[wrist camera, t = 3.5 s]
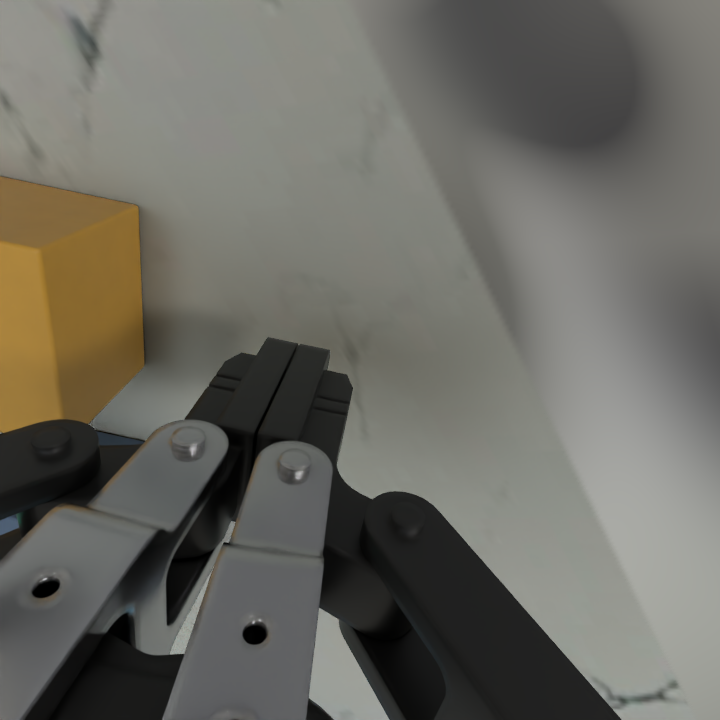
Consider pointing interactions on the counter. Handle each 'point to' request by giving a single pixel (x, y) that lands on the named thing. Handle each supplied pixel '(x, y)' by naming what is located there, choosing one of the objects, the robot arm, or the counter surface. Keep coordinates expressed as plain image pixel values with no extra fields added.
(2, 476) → the robot arm
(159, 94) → the counter surface
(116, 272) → the ochre block
